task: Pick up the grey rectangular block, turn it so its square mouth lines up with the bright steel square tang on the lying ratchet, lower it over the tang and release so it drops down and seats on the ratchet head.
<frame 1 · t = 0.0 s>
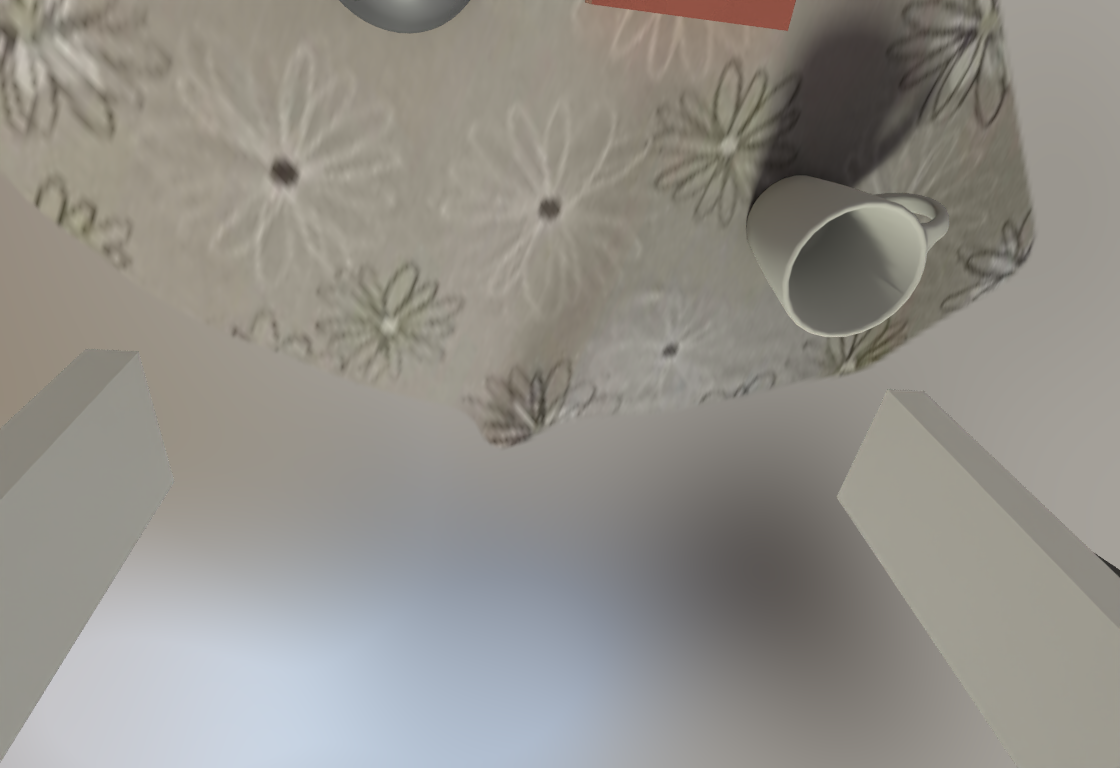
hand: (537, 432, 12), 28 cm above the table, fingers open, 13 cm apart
cup: (806, 211, 40), on the table
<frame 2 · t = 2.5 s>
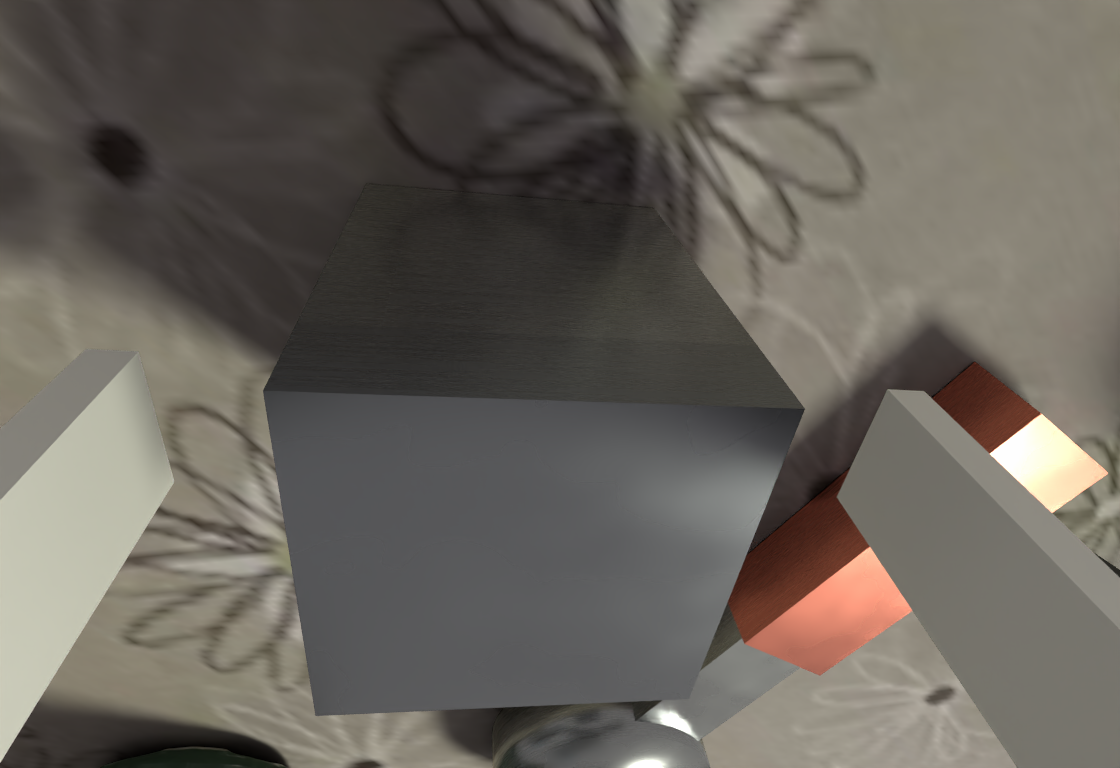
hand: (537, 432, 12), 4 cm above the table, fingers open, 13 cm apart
grey rectangular block: (505, 323, 15), on the table
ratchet: (593, 727, 25), on the table
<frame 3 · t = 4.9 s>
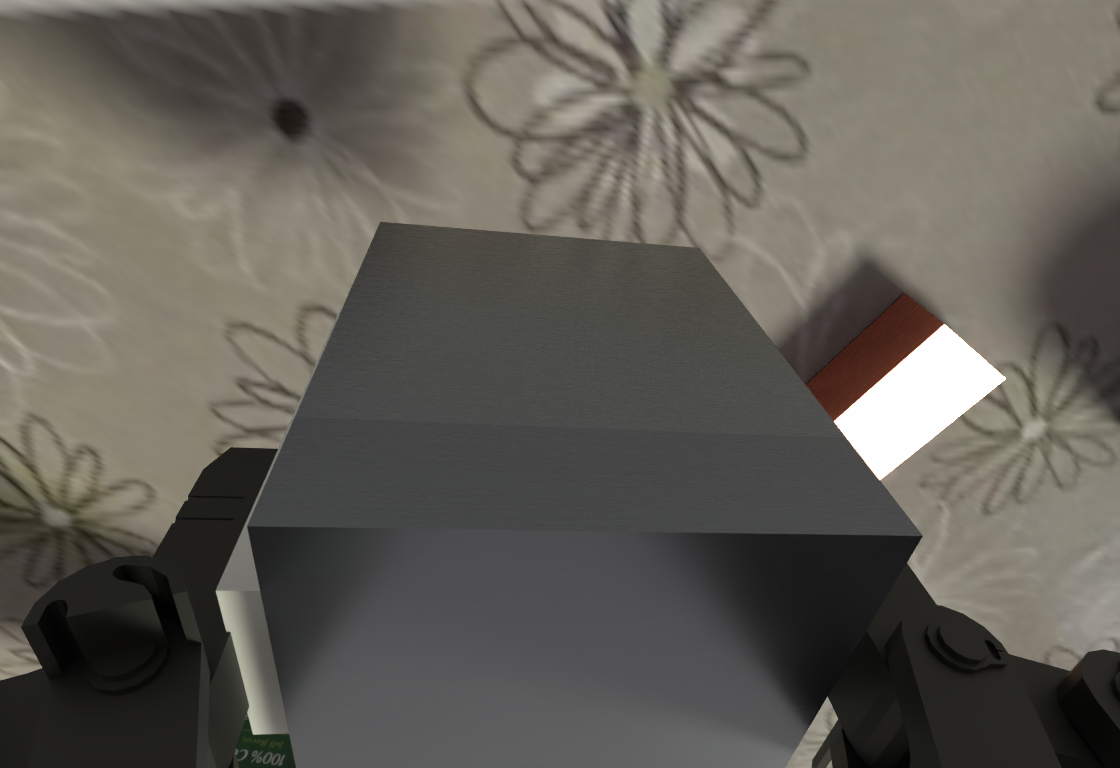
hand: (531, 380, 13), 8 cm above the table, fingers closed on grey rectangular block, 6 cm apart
coffee jar: (287, 656, 31), on the table
grey rectangular block: (530, 371, 13), point 8 cm above the table, touching gripper
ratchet: (604, 613, 30), on the table
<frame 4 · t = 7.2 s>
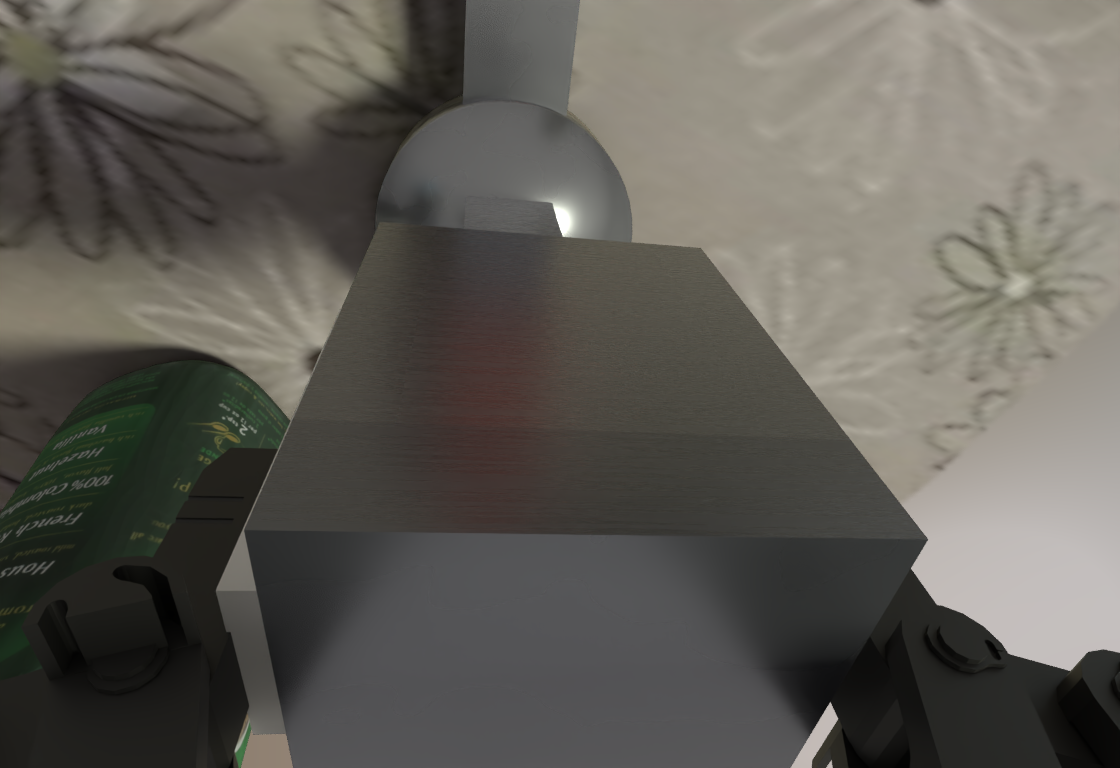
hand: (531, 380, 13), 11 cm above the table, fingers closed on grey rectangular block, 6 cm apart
coffee jar: (220, 450, 26), on the table
grey rectangular block: (531, 372, 13), point 10 cm above the table, touching gripper
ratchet: (504, 214, 22), on the table
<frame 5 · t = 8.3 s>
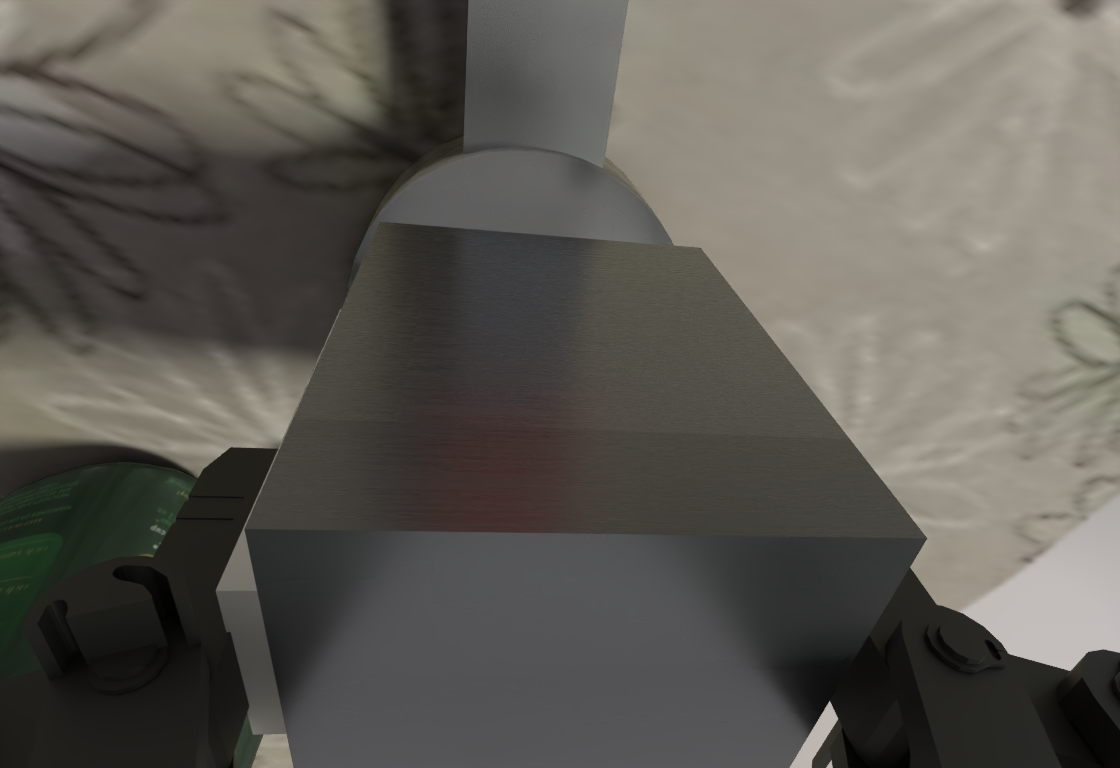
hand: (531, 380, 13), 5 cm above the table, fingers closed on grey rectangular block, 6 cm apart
coffee jar: (167, 557, 21), on the table
grey rectangular block: (531, 372, 13), point 5 cm above the table, touching gripper
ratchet: (516, 283, 17), on the table
when the fingers open (4 cm above the table, at t = 9.5 s): grey rectangular block drops 1 cm, resting on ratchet.
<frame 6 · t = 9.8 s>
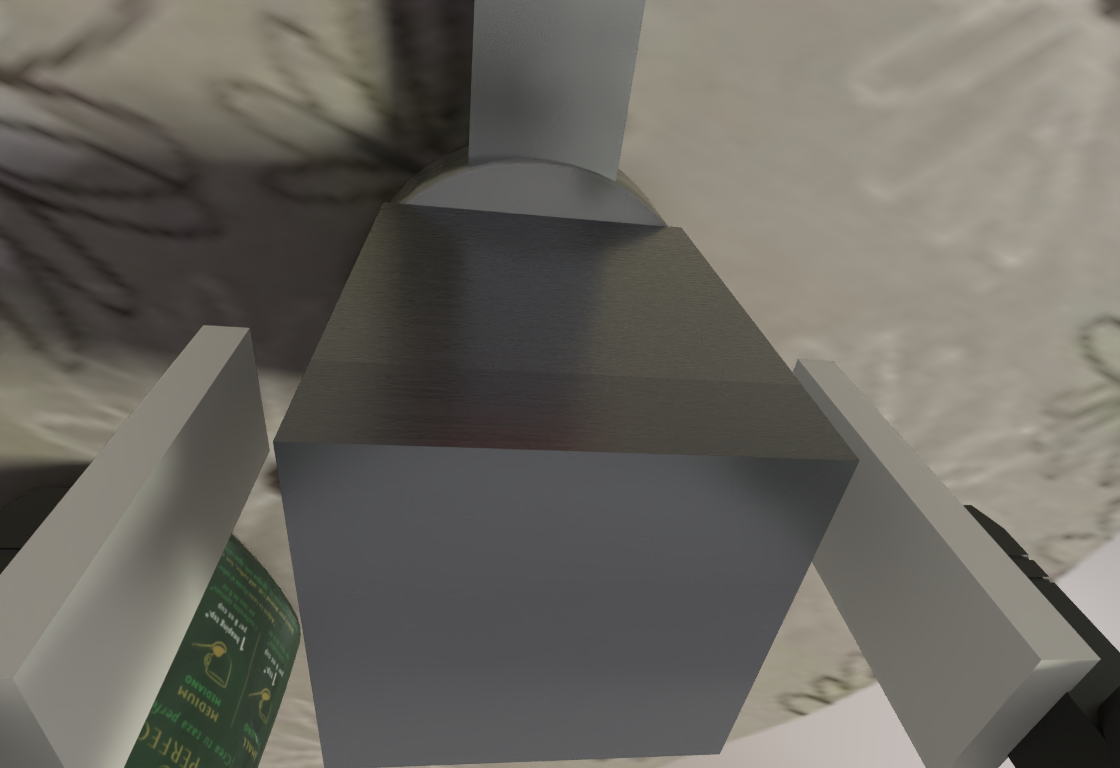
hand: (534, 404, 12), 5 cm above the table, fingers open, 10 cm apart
coffee jar: (161, 578, 21), on the table
grey rectangular block: (524, 345, 14), point 2 cm above the table, touching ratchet
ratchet: (522, 299, 16), on the table
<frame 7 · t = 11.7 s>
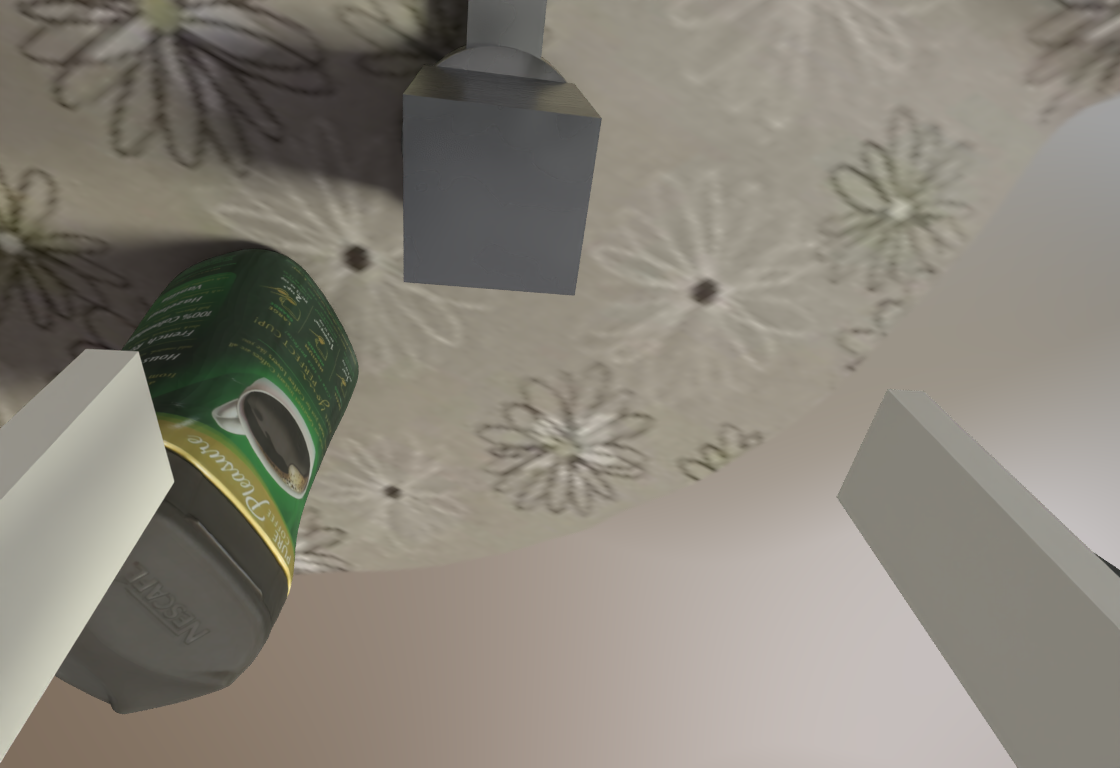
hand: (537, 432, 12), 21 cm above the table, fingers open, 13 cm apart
coffee jar: (273, 331, 33), on the table
grey rectangular block: (495, 151, 27), point 2 cm above the table, touching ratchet
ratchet: (496, 139, 29), on the table
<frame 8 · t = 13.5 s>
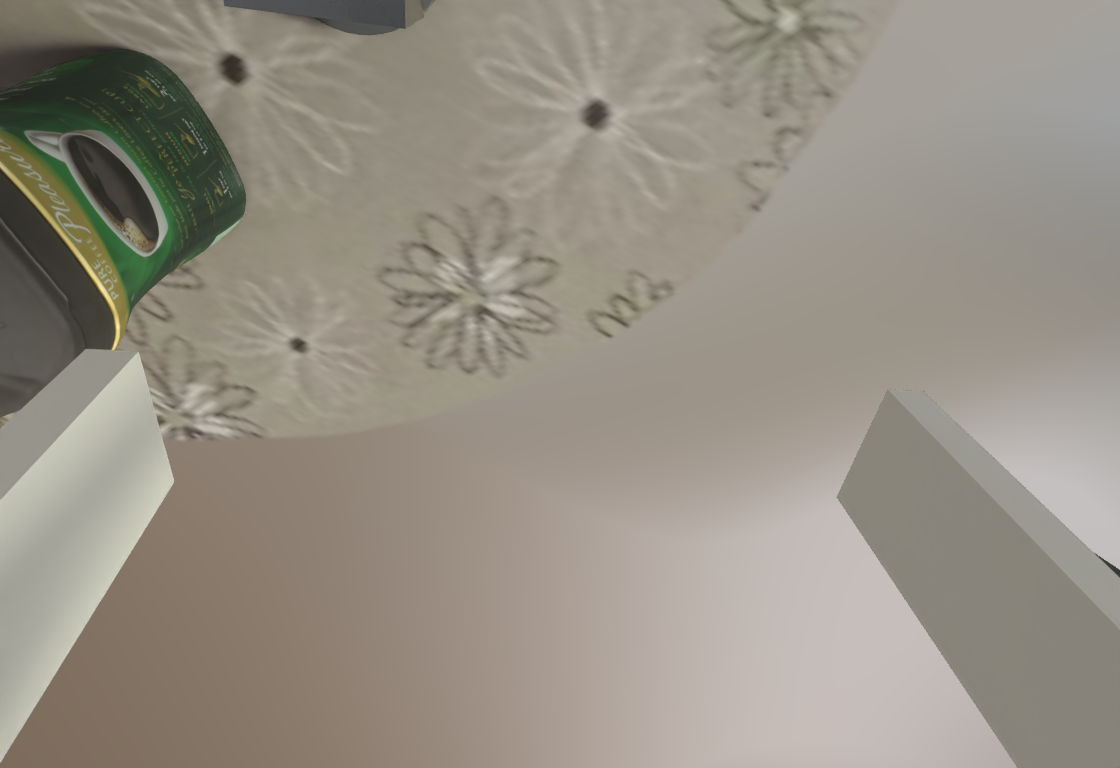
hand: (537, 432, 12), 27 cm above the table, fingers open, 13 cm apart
coffee jar: (157, 155, 33), on the table
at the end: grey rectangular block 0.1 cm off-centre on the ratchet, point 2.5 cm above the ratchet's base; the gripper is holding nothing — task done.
